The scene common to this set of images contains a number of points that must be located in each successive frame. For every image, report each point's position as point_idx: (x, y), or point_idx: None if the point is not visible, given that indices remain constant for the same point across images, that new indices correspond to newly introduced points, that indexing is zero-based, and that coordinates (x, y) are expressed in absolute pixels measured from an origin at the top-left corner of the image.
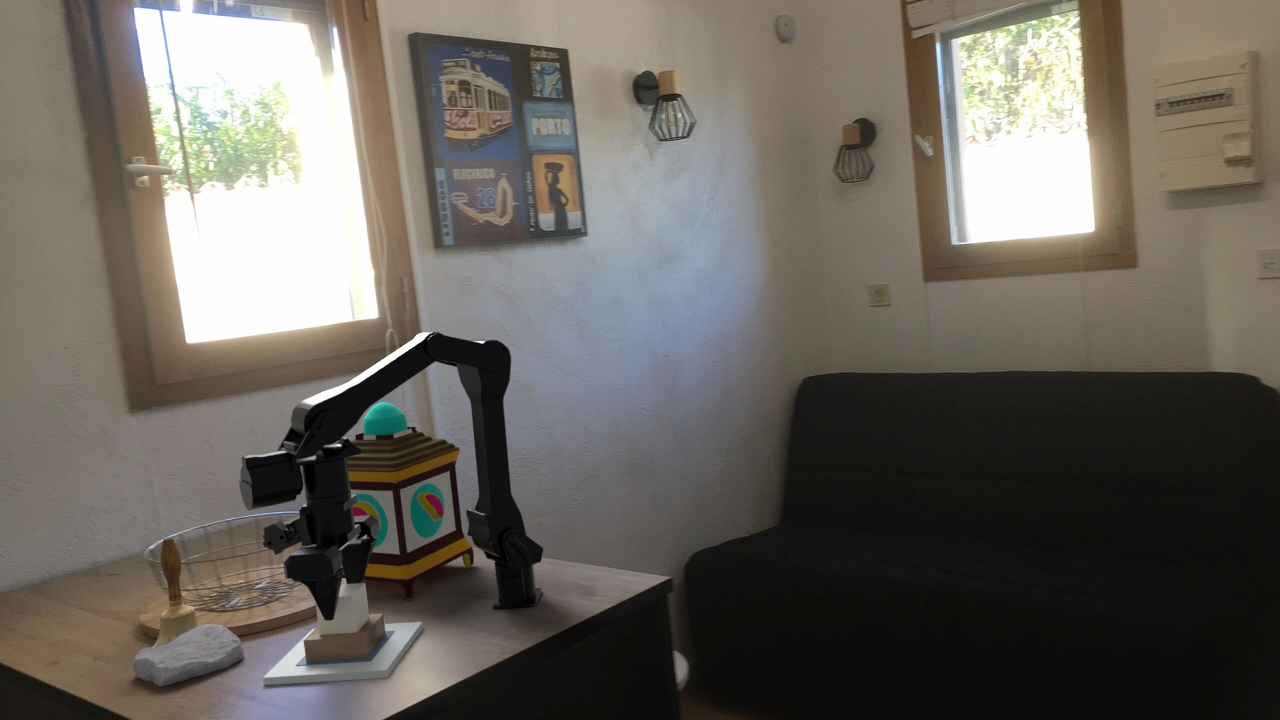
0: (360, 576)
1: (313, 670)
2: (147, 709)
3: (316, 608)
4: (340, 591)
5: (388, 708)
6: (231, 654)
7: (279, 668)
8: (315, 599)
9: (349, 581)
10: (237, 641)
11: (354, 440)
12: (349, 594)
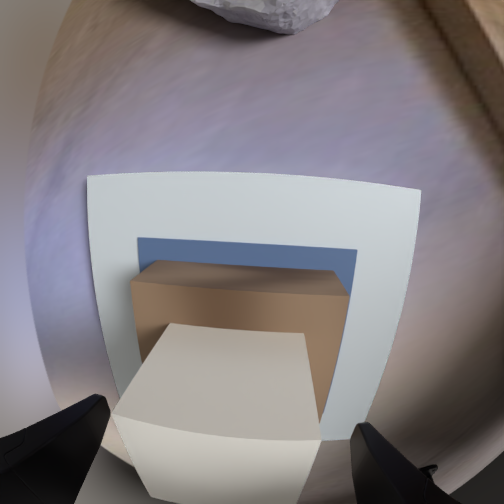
0: (360, 502)
1: (113, 293)
2: (67, 10)
3: (131, 381)
4: (201, 481)
5: (58, 404)
6: (237, 14)
7: (128, 195)
8: (28, 429)
9: (371, 466)
10: (274, 4)
11: None
12: (163, 494)
